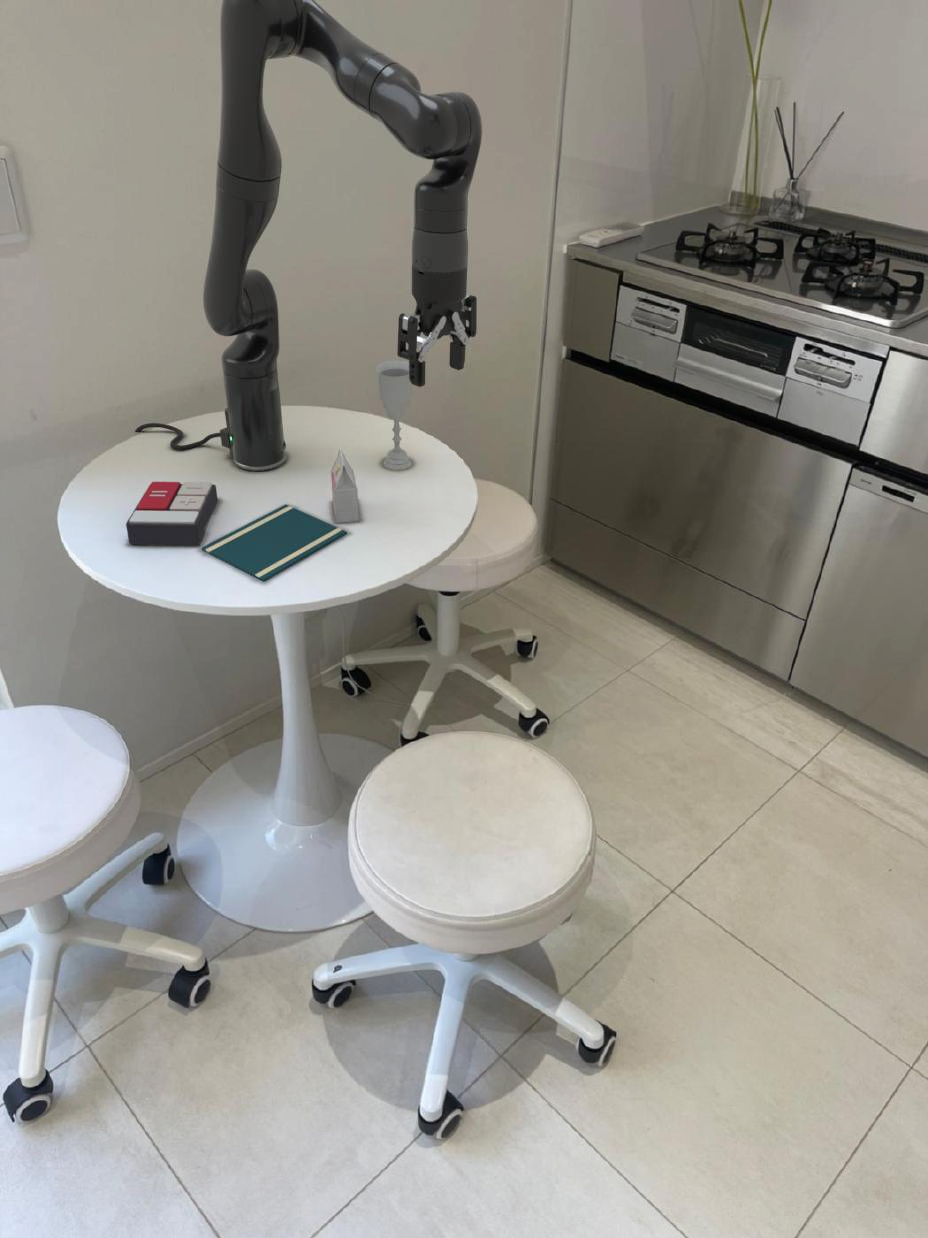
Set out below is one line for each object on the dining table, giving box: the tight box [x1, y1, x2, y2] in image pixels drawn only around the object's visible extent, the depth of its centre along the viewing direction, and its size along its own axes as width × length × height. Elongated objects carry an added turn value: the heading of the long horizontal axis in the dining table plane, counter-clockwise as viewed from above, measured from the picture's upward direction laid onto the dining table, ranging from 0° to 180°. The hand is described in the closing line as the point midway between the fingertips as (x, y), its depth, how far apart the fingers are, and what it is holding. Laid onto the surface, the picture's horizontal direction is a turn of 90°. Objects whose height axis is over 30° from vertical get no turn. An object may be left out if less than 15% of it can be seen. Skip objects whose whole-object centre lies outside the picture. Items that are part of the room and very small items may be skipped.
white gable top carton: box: [330, 448, 360, 524], centre depth 157 cm, size 4×7×10 cm, turn 11°
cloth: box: [201, 504, 348, 582], centre depth 151 cm, size 14×18×1 cm
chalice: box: [375, 360, 414, 471], centre depth 169 cm, size 7×7×18 cm
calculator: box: [125, 481, 219, 546], centre depth 155 cm, size 11×4×15 cm
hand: (437, 376), depth 138 cm, fingers open, 8 cm apart
